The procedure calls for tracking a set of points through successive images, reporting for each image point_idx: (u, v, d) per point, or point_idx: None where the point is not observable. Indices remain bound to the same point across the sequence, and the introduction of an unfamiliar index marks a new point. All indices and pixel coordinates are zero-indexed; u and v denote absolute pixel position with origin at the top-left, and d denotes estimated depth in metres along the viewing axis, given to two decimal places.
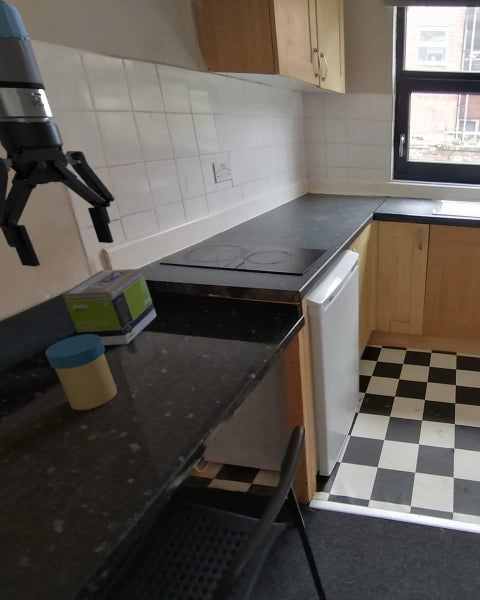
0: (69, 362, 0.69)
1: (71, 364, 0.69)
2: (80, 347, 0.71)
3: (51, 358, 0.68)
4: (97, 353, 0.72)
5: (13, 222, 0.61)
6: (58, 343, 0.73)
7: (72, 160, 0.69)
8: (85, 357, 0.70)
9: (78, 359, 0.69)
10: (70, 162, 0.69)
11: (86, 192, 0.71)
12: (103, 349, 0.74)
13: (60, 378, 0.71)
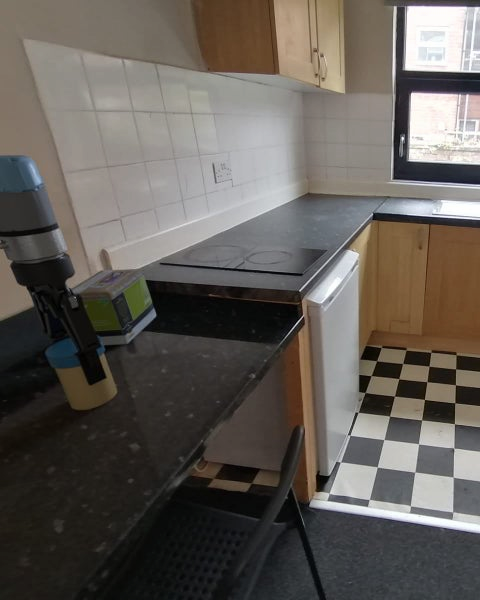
0: (69, 362, 0.69)
1: (71, 364, 0.69)
2: None
3: (51, 358, 0.68)
4: None
5: (49, 336, 0.73)
6: (58, 343, 0.73)
7: None
8: None
9: (78, 359, 0.69)
10: None
11: (68, 332, 0.68)
12: (103, 349, 0.74)
13: (60, 378, 0.71)
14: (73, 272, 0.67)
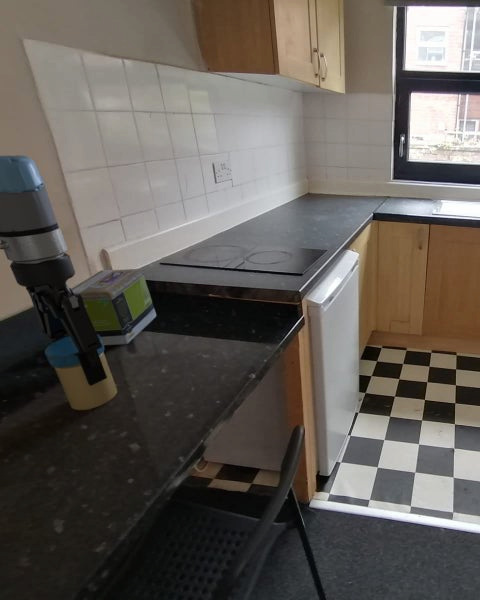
0: (102, 345, 0.74)
1: (103, 347, 0.74)
2: None
3: None
4: None
5: (48, 336, 0.73)
6: (53, 354, 0.68)
7: None
8: None
9: None
10: None
11: (68, 332, 0.68)
12: None
13: (60, 378, 0.71)
14: (73, 272, 0.68)
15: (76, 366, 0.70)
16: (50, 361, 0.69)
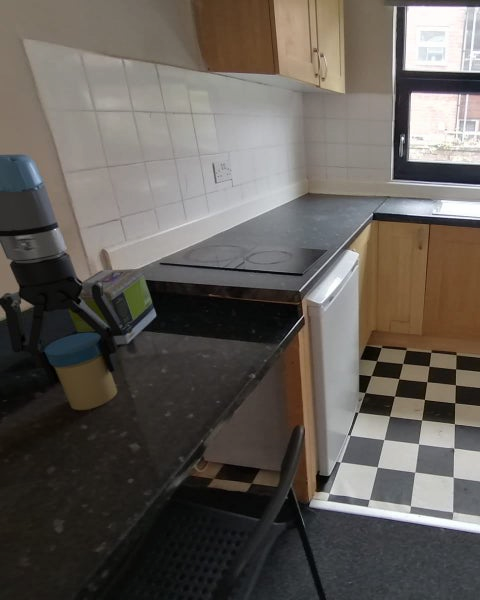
0: None
1: None
2: (74, 338, 0.73)
3: (100, 337, 0.74)
4: None
5: (32, 350, 0.68)
6: (75, 351, 0.69)
7: (88, 290, 0.69)
8: None
9: None
10: None
11: (88, 323, 0.70)
12: None
13: (60, 378, 0.71)
14: None
15: (76, 366, 0.70)
16: (71, 360, 0.69)
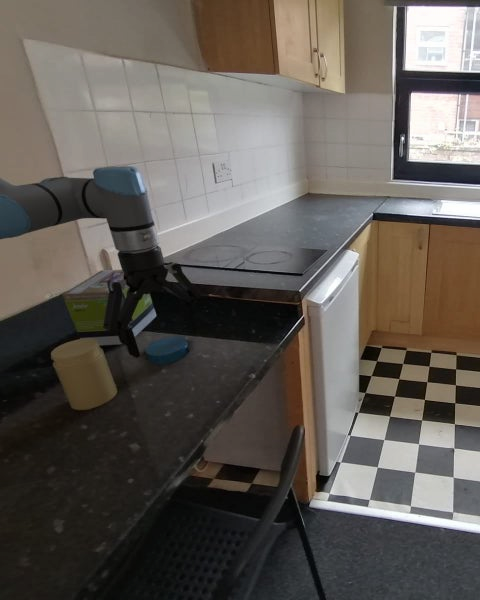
0: None
1: None
2: (160, 344, 0.90)
3: (180, 338, 0.93)
4: None
5: (124, 328, 0.80)
6: (180, 347, 0.89)
7: (171, 270, 0.86)
8: None
9: None
10: (170, 272, 0.87)
11: (178, 294, 0.88)
12: None
13: (60, 378, 0.71)
14: None
15: (76, 366, 0.70)
16: (179, 355, 0.88)
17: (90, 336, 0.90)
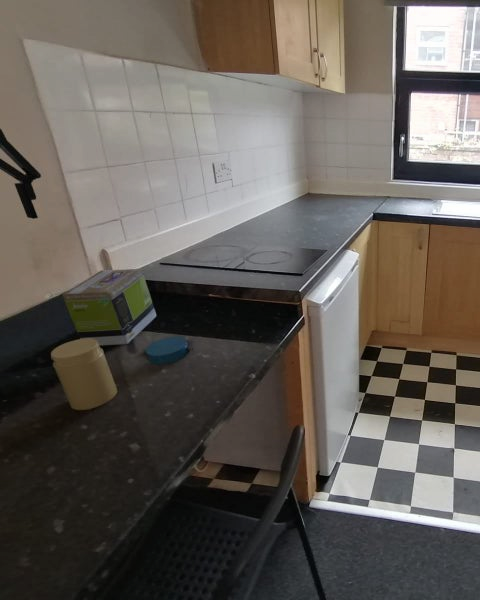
0: None
1: None
2: (160, 344, 0.90)
3: (180, 338, 0.93)
4: None
5: None
6: (180, 347, 0.89)
7: None
8: None
9: None
10: None
11: (4, 167, 0.73)
12: None
13: (60, 378, 0.71)
14: None
15: (76, 366, 0.70)
16: (179, 355, 0.88)
17: (90, 336, 0.90)
